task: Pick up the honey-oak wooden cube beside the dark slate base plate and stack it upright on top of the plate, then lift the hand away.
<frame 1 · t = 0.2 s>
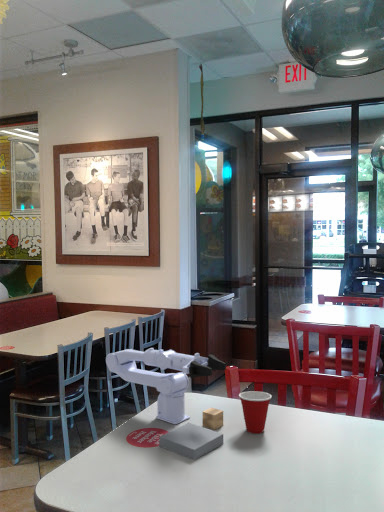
hand: (218, 369, 153), 21 cm above the table, tool horizontal, fingers open, 7 cm apart
oak cube: (212, 425, 161), on the table
slate base: (191, 444, 146), on the table
plastic cup: (255, 430, 157), on the table
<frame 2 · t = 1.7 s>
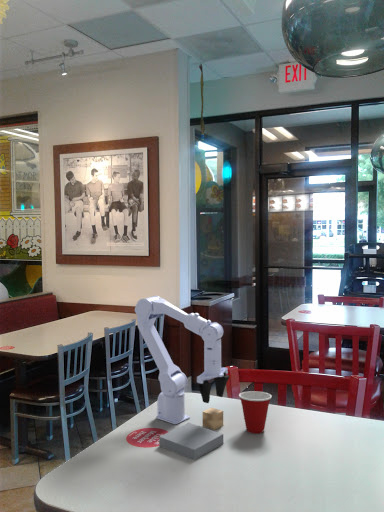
hand: (212, 399, 160), 9 cm above the table, tool pointing down, fingers open, 7 cm apart
nothing on the table moved.
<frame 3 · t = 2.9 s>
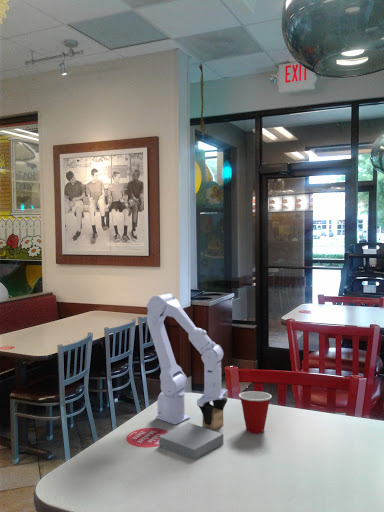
hand: (212, 421, 161), 1 cm above the table, tool pointing down, fingers closed on oak cube, 5 cm apart
oak cube: (212, 425, 161), on the table, touching gripper
everything else where it was.
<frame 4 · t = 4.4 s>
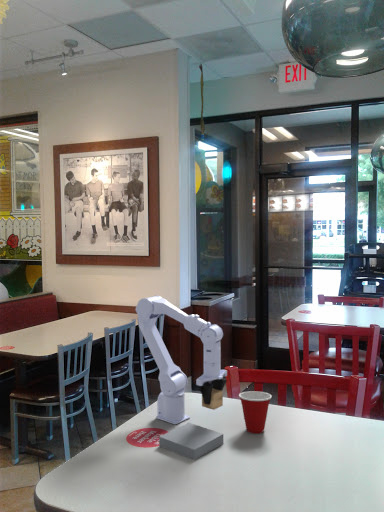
hand: (212, 401, 160), 8 cm above the table, tool pointing down, fingers closed on oak cube, 5 cm apart
oak cube: (212, 405, 160), point 7 cm above the table, touching gripper
everything else where it was.
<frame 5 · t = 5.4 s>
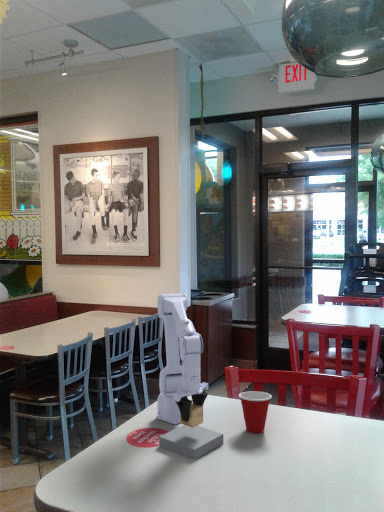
hand: (191, 418, 145), 8 cm above the table, tool pointing down, fingers closed on oak cube, 5 cm apart
oak cube: (191, 422, 145), point 7 cm above the table, touching gripper
everything else where it was.
when the fingers open (6 cm above the table, at t = 6.3 s): oak cube drops 1 cm, resting on slate base.
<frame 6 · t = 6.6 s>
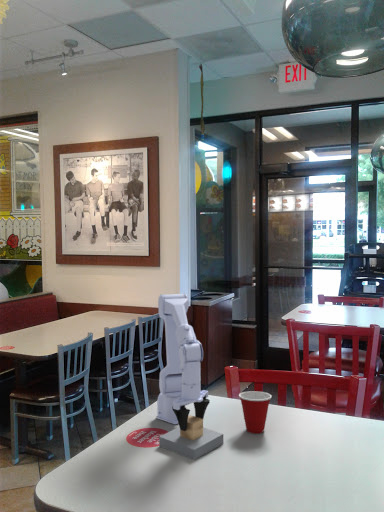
hand: (191, 426, 146), 6 cm above the table, tool pointing down, fingers open, 7 cm apart
oak cube: (191, 435, 146), point 3 cm above the table, touching slate base
everything else where it was.
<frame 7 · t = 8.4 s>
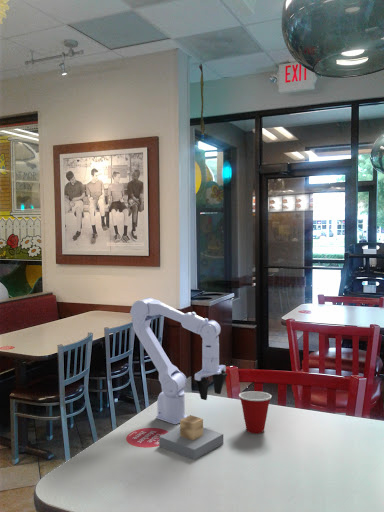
hand: (210, 396, 162), 9 cm above the table, tool pointing down, fingers open, 7 cm apart
nothing on the table moved.
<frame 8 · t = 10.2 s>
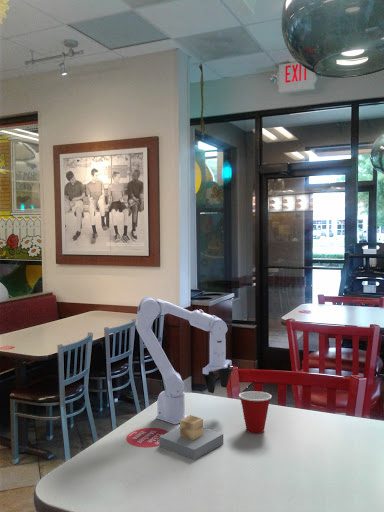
hand: (217, 389, 169), 9 cm above the table, tool pointing down, fingers open, 7 cm apart
nothing on the table moved.
at the end: oak cube inside the target area on the slate base (0.1 cm from its centre), point 3.0 cm above the slate base's base; oak cube tilted 0°; the gripper is holding nothing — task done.
